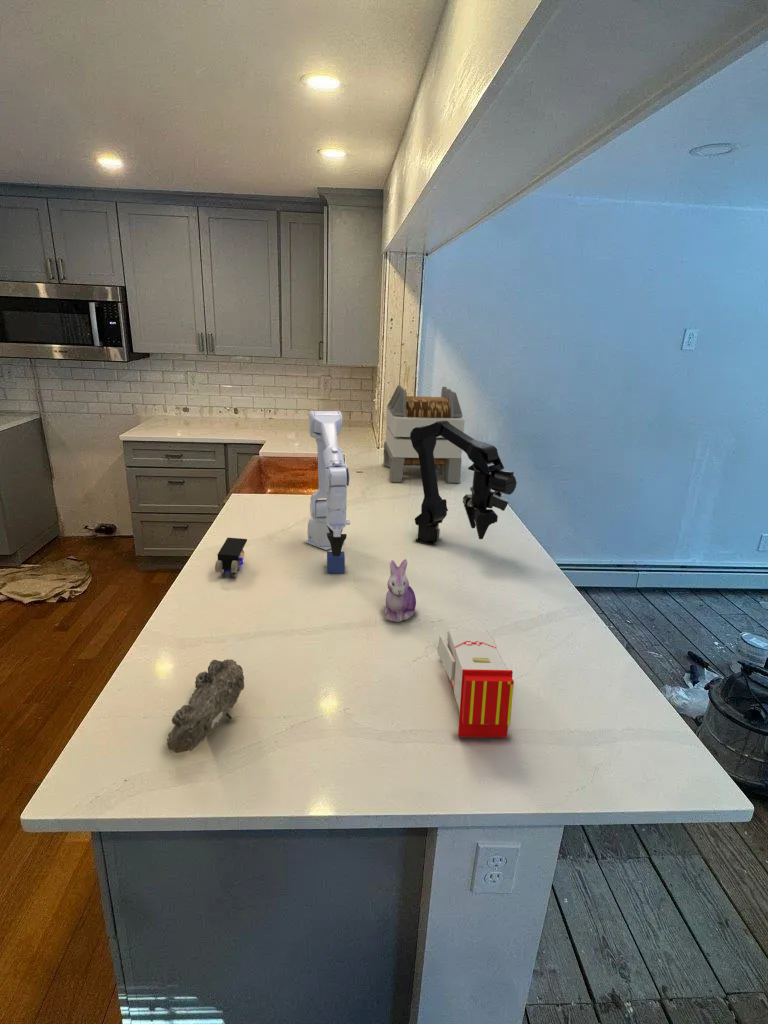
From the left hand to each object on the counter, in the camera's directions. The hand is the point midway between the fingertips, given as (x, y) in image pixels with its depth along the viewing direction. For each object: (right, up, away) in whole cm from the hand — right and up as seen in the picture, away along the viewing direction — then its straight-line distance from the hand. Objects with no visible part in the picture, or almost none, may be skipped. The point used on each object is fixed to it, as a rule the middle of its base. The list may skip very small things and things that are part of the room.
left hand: (335, 550), depth 168 cm
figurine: (+18, -15, -21) cm, 32 cm away
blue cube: (0, -6, +2) cm, 6 cm away
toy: (+32, -26, -50) cm, 65 cm away
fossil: (-18, -28, -60) cm, 69 cm away
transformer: (+32, +30, +106) cm, 115 cm away
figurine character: (-31, -6, -1) cm, 31 cm away
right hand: (+44, +5, +11) cm, 45 cm away
